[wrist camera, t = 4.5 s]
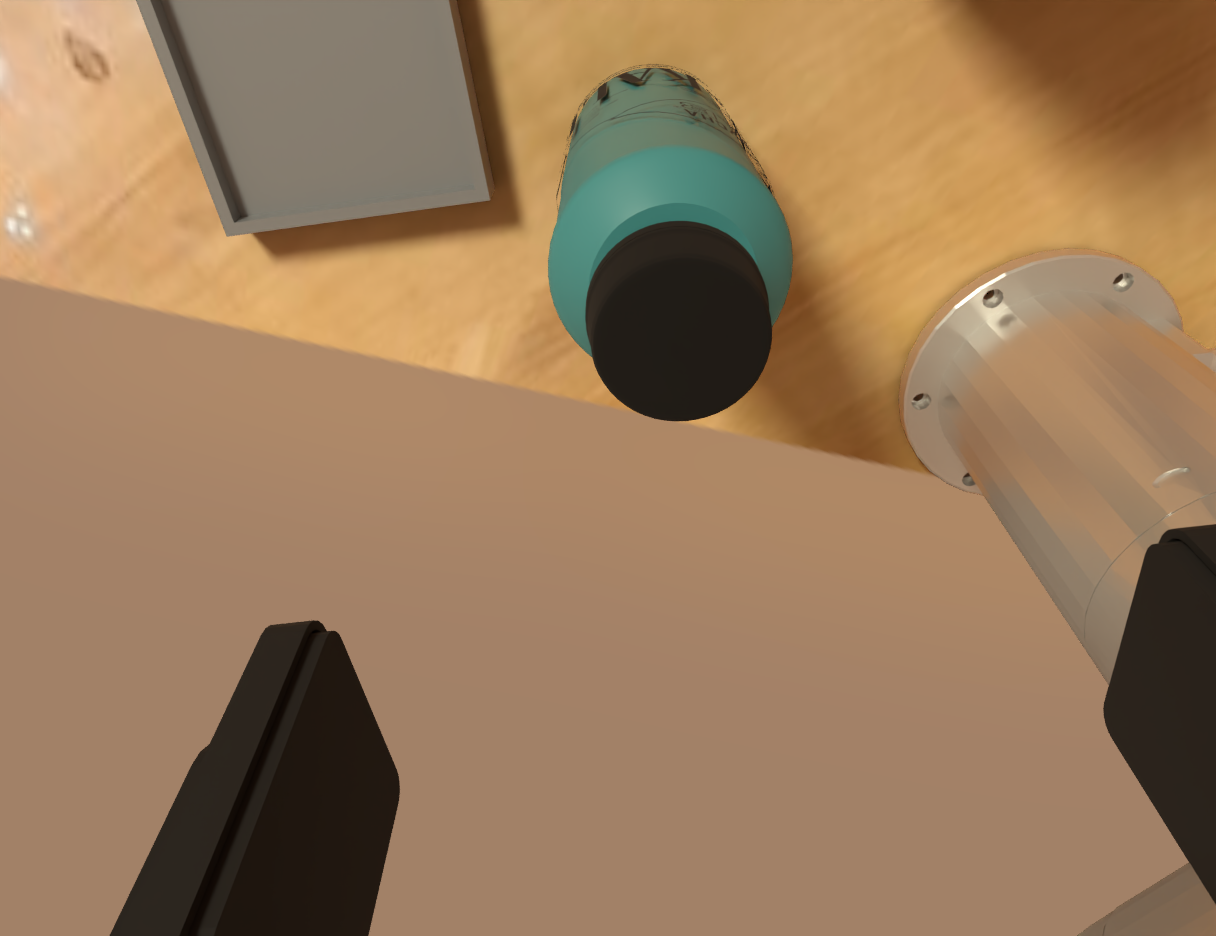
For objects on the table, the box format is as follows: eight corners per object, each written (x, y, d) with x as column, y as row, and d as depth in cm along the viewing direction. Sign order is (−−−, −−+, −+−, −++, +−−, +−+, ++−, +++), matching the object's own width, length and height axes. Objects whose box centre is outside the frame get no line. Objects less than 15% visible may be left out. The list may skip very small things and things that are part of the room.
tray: (430, -131, 29) (420, -133, 28) (495, 188, 35) (490, 200, 34) (130, -81, 30) (105, -81, 29) (242, 223, 36) (226, 236, 35)
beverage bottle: (684, 245, 37) (751, 519, 20) (541, 183, 35) (484, 422, 18) (757, 97, 33) (910, 274, 17) (603, 22, 32) (601, 134, 15)
